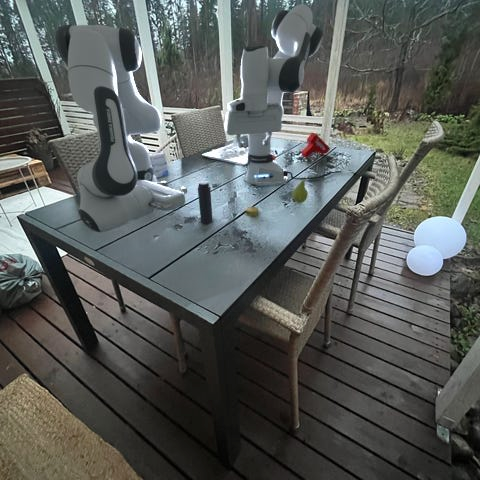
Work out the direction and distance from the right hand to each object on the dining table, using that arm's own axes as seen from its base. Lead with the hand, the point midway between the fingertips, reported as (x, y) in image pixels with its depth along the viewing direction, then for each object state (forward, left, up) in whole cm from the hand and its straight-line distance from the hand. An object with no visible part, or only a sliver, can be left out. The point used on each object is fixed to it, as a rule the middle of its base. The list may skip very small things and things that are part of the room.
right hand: (253, 146), depth 98 cm
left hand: (+26, +17, -9) cm, 32 cm away
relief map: (+9, -85, -27) cm, 90 cm away
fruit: (-21, -11, -27) cm, 36 cm away
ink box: (+50, -46, -27) cm, 73 cm away
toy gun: (-45, -83, -27) cm, 98 cm away
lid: (0, 0, -26) cm, 26 cm away
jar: (+18, +7, -27) cm, 33 cm away
